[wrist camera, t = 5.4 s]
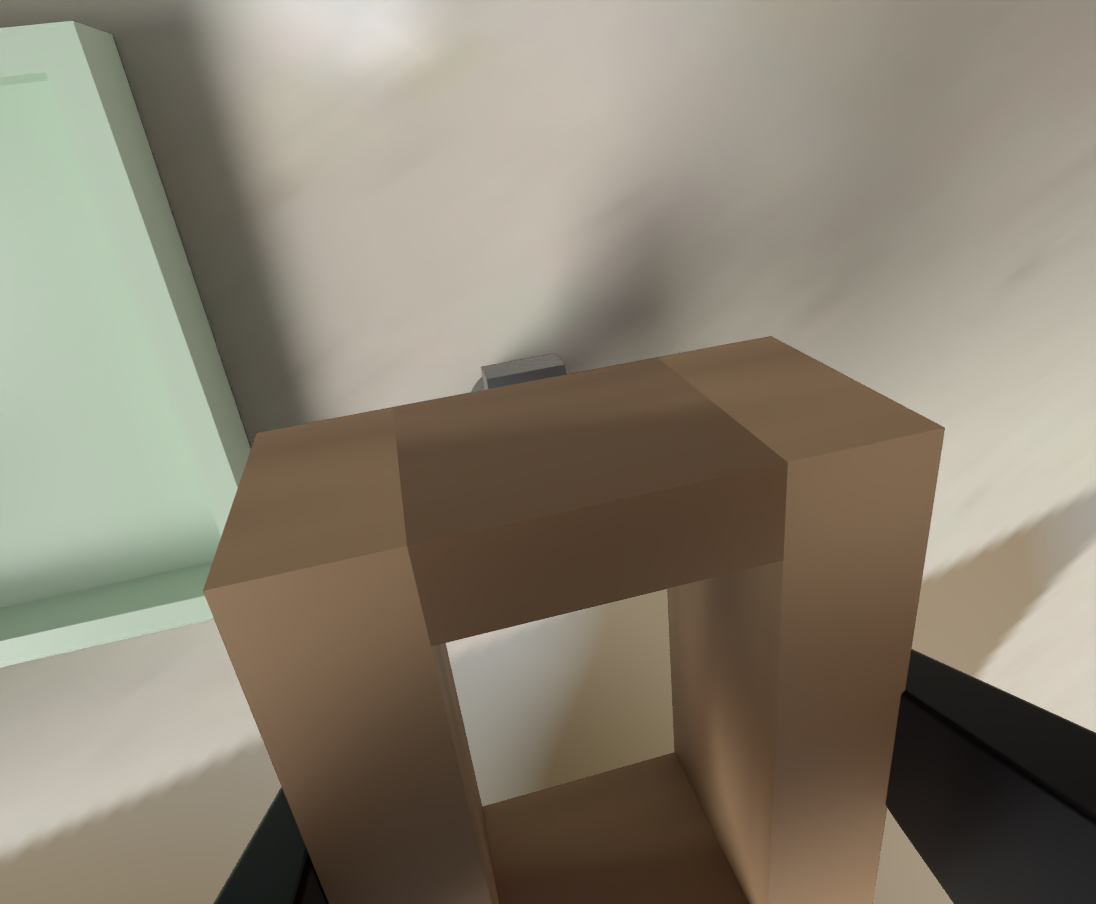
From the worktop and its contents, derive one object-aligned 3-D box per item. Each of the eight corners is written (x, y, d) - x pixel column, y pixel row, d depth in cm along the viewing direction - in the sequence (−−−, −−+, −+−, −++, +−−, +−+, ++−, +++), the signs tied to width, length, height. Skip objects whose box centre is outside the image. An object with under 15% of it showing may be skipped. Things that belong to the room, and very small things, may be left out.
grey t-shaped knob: (453, 327, 18) (476, 381, 14) (531, 313, 18) (574, 362, 14) (482, 486, 20) (509, 570, 16) (551, 472, 20) (593, 551, 16)
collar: (757, 769, 12) (866, 947, 10) (398, 875, 11) (410, 1105, 9) (770, 336, 9) (944, 427, 6) (256, 433, 8) (203, 591, 5)
